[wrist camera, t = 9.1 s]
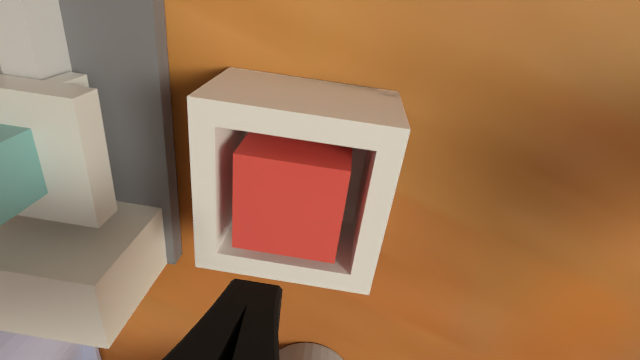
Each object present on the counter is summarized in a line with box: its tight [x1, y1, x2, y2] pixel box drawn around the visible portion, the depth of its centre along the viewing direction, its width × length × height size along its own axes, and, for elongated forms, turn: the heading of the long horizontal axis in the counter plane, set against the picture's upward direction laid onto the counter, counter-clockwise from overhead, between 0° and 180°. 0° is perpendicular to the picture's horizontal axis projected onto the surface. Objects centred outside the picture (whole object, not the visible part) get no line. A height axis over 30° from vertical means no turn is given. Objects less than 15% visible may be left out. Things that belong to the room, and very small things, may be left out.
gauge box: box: [187, 67, 411, 295], centre depth 17 cm, size 8×8×5 cm
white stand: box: [0, 0, 182, 349], centre depth 15 cm, size 24×10×7 cm, turn 173°
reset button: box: [232, 132, 353, 264], centre depth 16 cm, size 4×4×4 cm
